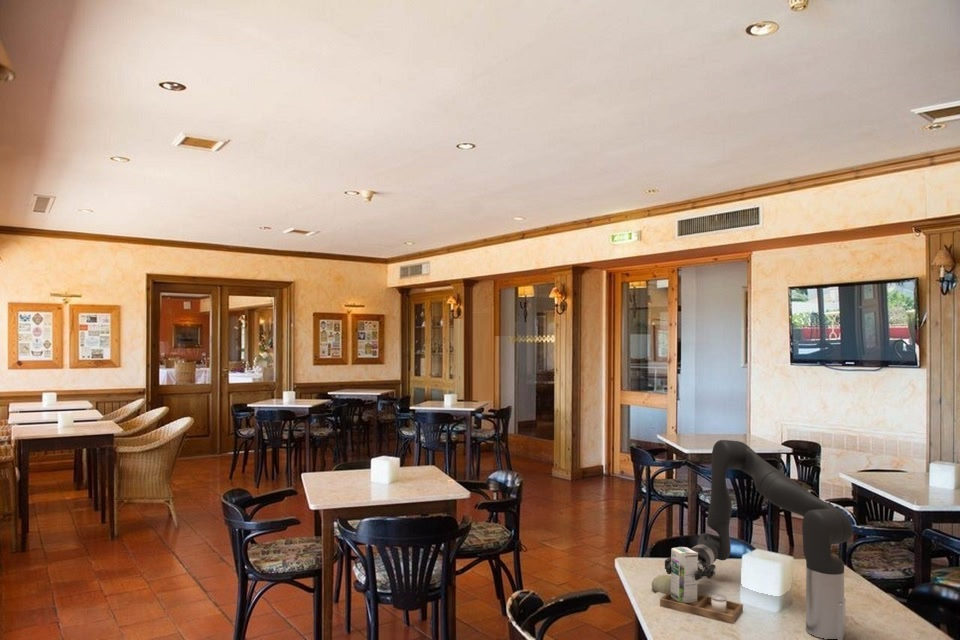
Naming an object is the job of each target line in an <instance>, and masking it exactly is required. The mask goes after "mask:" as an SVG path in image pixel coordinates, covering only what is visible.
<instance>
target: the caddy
mask: <svg viewBox="0 0 960 640" xmlns="http://www.w3.org/2000/svg"><path fill="white" fill-rule="evenodd" d="M711 599H712V598H711V596H708V595H705V594H700V593H697V602H690V603H680V602H678V601H677V600H675V599H674V598H672V597H671V590H670V591H669V592H668V593H664V595H663V596H661V598H660V599H659V607H662V608H666V609H671V610H674V611H678V612H681V613H686V614H691V615H694V616H699V617H703V618H705V619H706V618H707V619H711V620H715V621H719V622H723V623H727V624H731V625H734V624H735V622H736V621H737V620H738V619H739V617H740V616H741V614H742V613H743V611H744V604H742V603H739V602H735V601H731V600H726V614H725V613H721V612H717V611H712V610H711Z"/></svg>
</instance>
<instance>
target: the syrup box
mask: <svg viewBox="0 0 960 640" xmlns="http://www.w3.org/2000/svg"><path fill="white" fill-rule="evenodd" d="M670 552H671V553H670V554H671V574H670V576H671V597H672V598H674V599H675V600H677V601H678V602H680V603H690V602H697V594H698V581H697V580H695V572H696V571H698V553H697V552H694V551H693V550H691V548H689V547H687V546H686V547H685V546H678V547H672V548H671V551H670Z"/></svg>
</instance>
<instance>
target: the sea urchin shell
mask: <svg viewBox="0 0 960 640" xmlns="http://www.w3.org/2000/svg"><path fill="white" fill-rule="evenodd" d="M651 589H653V591H655V593H658V592H659V593H660V594H667V593H668V592H669V591H670V590H671V575H670V574H662V575H657V576H656V577H654V578H653V579H652V581H651Z"/></svg>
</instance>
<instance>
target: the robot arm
mask: <svg viewBox="0 0 960 640" xmlns="http://www.w3.org/2000/svg"><path fill="white" fill-rule="evenodd" d="M710 463H711V465H710V466H711V469H710V470H711V472H710V475H711V476H710V479H711V481H710V485H711V486H710V489H711V490H710V500H709V501H710V502H709V507H708V514H707V519H706V526H707V527H709V529H711V530H713V531H715V532H716V534H718V535H714V534H712V533H708V532H705V533H704V532H703V533H701V534H700V535H699V536H698V539H697V544H696V545H694V546H693V547H691V548H690V549H691V550H693V551H694V552H697V553H698V571H696V572H695V580H697V582H698V581H699V580H701V579H704V578H705V577H706V578H707V579H712V578H713V577H714V576H715V575H716V564H714V563H715V562H716V561H717V560H719V561H726V560H727V559H728V558H729V557H730V556H731V550H732V549H731V540H730V522H731V517H732V516H731V515H732V512H733V511H732V510H733V506H732V505H733V503H732V499H731V496H730V493H729V491H728V487H727V481H726V479H727V474H728V473H727V472H728V470H729V469H730V470H738V471H742V472H744V473H746V474H747V475H748V476H750V477H751V478H752V480H753V483H754V487H755V489H756V491H757V492H758V493H759V494H760V495H761V496H762V497H763V498H764V499H766V500H767V501H769V502H770V503H771V504H772V505H774V506H776V507H778V508H780V509H783V510H785V511H788V512H790V513H793V514H796V515H798V516H802V517H803V518H802V523H801V529H802V530H801V531H802V532H801V533H802V549H803V550H802V551H803V556H804V559H805V563H806V564H805V565H806V568H805V569H806V570H805V571H806V572H805V577H806V578H805V631H806V632H807V633H808V634H809V635H811V634H812V635H811V636H813V635H814V636H813V637H816V638H819V637H820V639H822V638H824V640H827V639H839V640H844V639H843V638H845V636H844V635H846V598H845V562H844V561H843V560H842V559H841V558H839V557H838V556H835V555H832V552H831V551H832V550H831V545H836V544H837V545H838V544H842V543H846V542H848V541H849V540H850V539H851V538H852V536H853V533H854V530H853V525H852V523H851V520H850V519H849V517H848V516H847V515H846V514H845V513H844V512H843V511H841V509H838V508H836V507H835V506H833V505H831V504H829V503H827V502H826V501H824V500H822V499H821V498H819V497H818V496H815V495H814V494H812V493H811V492H810V491H809V490H807V489H805V488H804V487H802V485H800V484H798V483H797V482H796V481H794V480H793V479H792V478H790V477H789V476H787V475H786V474H785V473H783V472H782V471H780V470H779V469H778V468H777V467H774V466H773V465H772V464H770V463H769V462H767V461H766V460H764V459H763V458H762V456H760V455H759V454H758V453H756V451H754V450H753V449H752V448H751V447H750V446H749V445H748V444H746V443H744V442H742V441H739V440H730V439H729V440H727V439H720V440H718V441H716V442H715V443H714V445H713V447H712V451H711V462H710ZM664 570H665V572H666V573H667V574H666V575H671V556H669V557H668V558H667V559H665V560H664Z"/></svg>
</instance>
